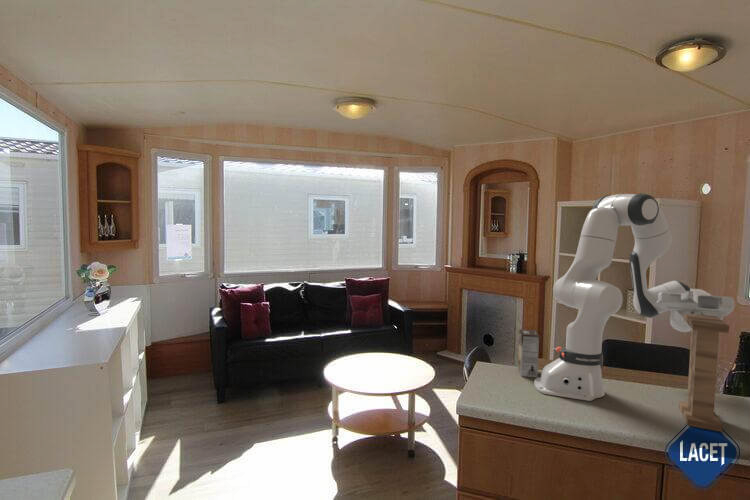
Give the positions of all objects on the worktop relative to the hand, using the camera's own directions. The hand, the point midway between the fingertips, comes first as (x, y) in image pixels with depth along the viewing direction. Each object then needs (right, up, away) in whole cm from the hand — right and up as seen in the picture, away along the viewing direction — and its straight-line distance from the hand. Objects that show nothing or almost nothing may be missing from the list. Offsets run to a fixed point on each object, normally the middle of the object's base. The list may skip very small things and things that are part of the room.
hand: (698, 293), depth 135 cm
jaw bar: (-2, -2, -4) cm, 6 cm away
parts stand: (-6, -37, -8) cm, 38 cm away
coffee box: (-43, -34, +30) cm, 63 cm away
